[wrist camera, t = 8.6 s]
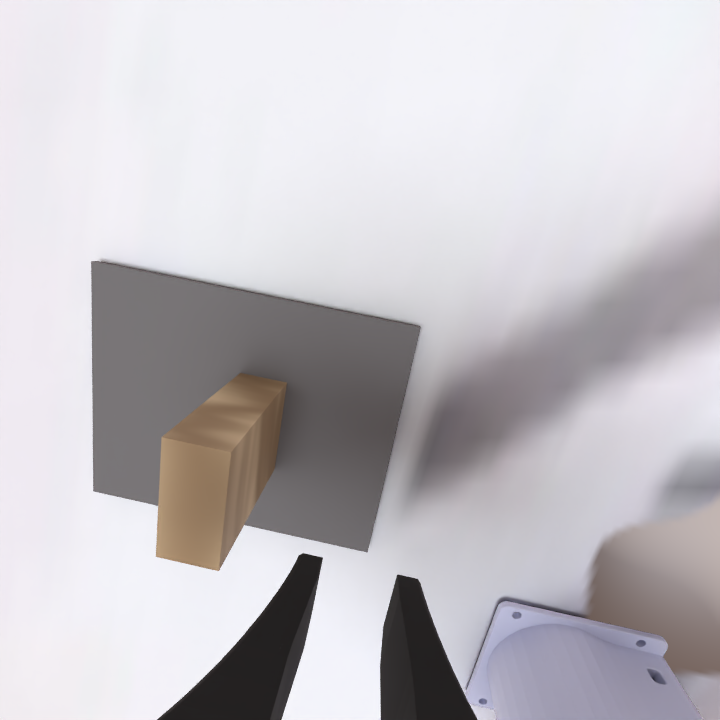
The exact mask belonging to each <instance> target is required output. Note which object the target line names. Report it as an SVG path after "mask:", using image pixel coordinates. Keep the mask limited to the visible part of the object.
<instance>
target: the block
mask: <svg viewBox="0 0 720 720" xmlns="http://www.w3.org/2000/svg"><path fill="white" fill-rule="evenodd" d="M286 386H287V383H286V382H282V381H277V380H272V379H267V378H263V377H258V376H253V375H248V374H244V373H240V374H238V375H237V376H236V377H235V378H233V379H232V380H231V381H230V382H229V383H227V384H226V385H225V386H224V387H222V388H221V389H220V390H219V391H217V392H216V393H215V394H214V395H213V396H211V397H210V398H209V399H208V400H206V401H205V402H204V403H203V404H202V405H200V406H199V407H198V408H197V409H195V410H194V411H193V412H192V413H191V414H189V415H188V416H187V417H186V418H184V419H183V420H182V421H181V422H179V423H178V424H177V425H176V426H175V427H173V428H172V429H171V430H170V431H168V432H167V433H166V434H165V435H164V436H162V439H161V460H160V481H159V503H158V524H157V545H156V557H160V558H164V559H168V560H173V561H177V562H181V563H186V564H190V565H195V566H199V567H203V568H208V569H212V570H217V571H219V570H220V568H221V566H222V564H223V562H224V560H225V559H226V557H227V555H228V553H229V551H230V550H231V548H232V546H233V544H234V542H235V540H236V539H237V537H238V535H239V533H240V531H241V529H242V528H243V526H244V524H245V522H246V520H247V519H248V517H249V515H250V513H251V511H252V509H253V508H254V506H255V504H256V502H257V500H258V498H259V497H260V495H261V493H262V491H263V489H264V488H265V486H266V484H267V482H268V480H269V478H270V477H271V475H272V473H273V471H274V469H275V463H276V456H277V449H278V442H279V435H280V428H281V421H282V414H283V407H284V400H285V393H286Z"/></svg>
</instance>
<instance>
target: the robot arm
mask: <svg viewBox="0 0 720 720" xmlns="http://www.w3.org/2000/svg"><path fill="white" fill-rule="evenodd" d="M322 559H323V558H322V557H317V556H313V555H308V554H304V553H303V554H301V555H299V556H298V558H297V561H296V563H295V565H294V566H293V568H292V570H291V572H290V573H289V575H288V577H287V578H286V580H285V581H284V583H283V584H282V586H281V587H280V589H279V590H278V592H277V593H276V594H275V596H274V597H273V598H272V600H271V601H270V603H269V604H268V605H267V607H266V608H265V609H264V611H263V612H262V613H261V615H260V616H259V617H258V618H257V619H256V621H255V622H254V623H253V624H252V626H251V627H250V628H249V629H248V630H247V632H246V633H245V634H244V635H243V636H242V638H241V639H240V640H239V641H238V642H237V643H236V644H235V646H234V647H233V648H232V649H231V650H230V651H229V652H228V653H227V654H226V655H225V656H224V658H223V659H222V660H221V661H220V662H219V663H218V664H217V665H216V666H215V667H214V668H213V669H212V670H211V671H210V672H209V673H208V674H207V675H206V676H205V677H204V678H203V679H202V680H201V681H200V682H199V683H198V684H197V685H196V686H195V687H194V688H192V689H191V690H190V691H189V692H188V693H187V694H186V695H185V696H184V697H183V698H182V699H181V700H179V701H178V702H177V703H176V704H175V705H174V706H173V707H171V708H170V709H169V710H168V711H167V712H166V713H164V714H163V715H162V716H161V717H160V718H158V719H157V720H281V719H282V716H283V713H284V710H285V706H286V703H287V700H288V697H289V694H290V691H291V687H292V684H293V681H294V678H295V675H296V672H297V668H298V665H299V662H300V659H301V656H302V653H303V649H304V645H305V641H306V637H307V632H308V628H309V623H310V619H311V614H312V610H313V605H314V600H315V595H316V590H317V585H318V580H319V575H320V569H321V564H322ZM514 612H517V613H514ZM667 648H668V644H667V642H666V641H665V639H664V638H663V637H662V636H660V635H656V634H652V633H647V632H642V631H638V630H634V629H629V628H625V627H620V626H616V625H611V624H607V623H603V622H598V621H594V620H589V619H585V618H580V617H576V616H571V615H567V614H563V613H558V612H554V611H549V610H545V609H540V608H536V607H531V606H527V605H522V604H518V603H514V602H509V601H504V602H501V603H500V604H499V605H498V607H497V610H496V612H495V615H494V618H493V620H492V623H491V626H490V628H489V631H488V634H487V636H486V639H485V642H484V645H483V647H482V650H481V653H480V655H479V658H478V661H477V663H476V666H475V669H474V672H473V674H472V677H471V680H470V682H469V685H468V688H467V690H466V696H465V694H464V692H463V690H462V688H461V686H460V684H459V682H458V680H457V678H456V675H455V673H454V671H453V669H452V667H451V664H450V662H449V660H448V658H447V655H446V653H445V650H444V648H443V646H442V643H441V641H440V638H439V636H438V633H437V631H436V628H435V626H434V623H433V620H432V617H431V615H430V612H429V609H428V606H427V603H426V600H425V597H424V594H423V591H422V587H421V584H420V582H419V580H418V579H415V578H411V577H406V576H402V575H397V578H396V581H395V585H394V589H393V593H392V596H391V600H390V604H389V608H388V611H387V615H386V619H385V622H384V626H383V638H382V650H381V663H380V687H381V720H477V718H476V716H475V714H474V712H473V710H472V708H471V706H470V704H473V705H477V706H481V707H485V708H489V709H494V711H495V715H496V720H703V718H702V717H701V715H700V714H699V712H698V711H697V709H696V707H695V706H694V704H693V703H692V701H691V700H690V698H689V697H688V695H687V693H686V692H685V690H684V689H683V687H682V686H681V684H680V683H679V681H678V679H677V678H676V676H675V675H674V673H673V672H672V670H671V669H670V667H669V665H668V664H667V662H666V661H665V659H664V658H663V656H664V654H665V652H666V650H667ZM469 703H470V704H469Z"/></svg>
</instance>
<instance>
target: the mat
mask: <svg viewBox="0 0 720 720" xmlns="http://www.w3.org/2000/svg"><path fill="white" fill-rule="evenodd" d="M91 274H92V385H93V491H95V492H99V493H104V494H108V495H113V496H117V497H122V498H126V499H131V500H135V501H140V502H144V503H149V504H153V505H158V503H159V481H160V460H161V439H162V436H164V435H165V434H166V433H167V432H168V431H170V430H171V429H172V428H173V427H175V426H176V425H177V424H178V423H179V422H181V421H182V420H183V419H184V418H186V417H187V416H188V415H189V414H191V413H192V412H193V411H194V410H195V409H197V408H198V407H199V406H200V405H202V404H203V403H204V402H205V401H206V400H208V399H209V398H210V397H211V396H213V395H214V394H215V393H216V392H217V391H219V390H220V389H221V388H222V387H224V386H225V385H226V384H227V383H229V382H230V381H231V380H232V379H233V378H235V377H236V376H237V375H238V374H240V373H244V374H248V375H253V376H258V377H263V378H267V379H272V380H277V381H282V382H286V383H287V386H286V393H285V400H284V407H283V414H282V421H281V428H280V435H279V442H278V449H277V456H276V463H275V469H274V471H273V473H272V475H271V477H270V478H269V480H268V482H267V484H266V486H265V488H264V489H263V491H262V493H261V495H260V497H259V498H258V500H257V502H256V504H255V506H254V508H253V509H252V511H251V513H250V515H249V517H248V519H247V520H246V522H245V524H244V525H247V526H252V527H256V528H261V529H265V530H270V531H274V532H279V533H283V534H288V535H292V536H297V537H301V538H306V539H310V540H314V541H319V542H323V543H328V544H332V545H337V546H341V547H346V548H350V549H355V550H359V551H364V552H368V548H369V544H370V539H371V535H372V531H373V527H374V523H375V518H376V514H377V510H378V506H379V501H380V497H381V493H382V489H383V484H384V480H385V476H386V472H387V467H388V463H389V459H390V455H391V451H392V446H393V442H394V438H395V434H396V429H397V425H398V421H399V417H400V412H401V408H402V404H403V400H404V396H405V391H406V387H407V383H408V379H409V374H410V370H411V366H412V362H413V357H414V353H415V349H416V345H417V341H418V336H419V332H420V326H415V325H410V324H405V323H400V322H395V321H390V320H385V319H380V318H376V317H371V316H366V315H361V314H356V313H351V312H346V311H341V310H336V309H331V308H326V307H321V306H316V305H311V304H306V303H301V302H297V301H292V300H287V299H282V298H277V297H272V296H267V295H262V294H257V293H252V292H247V291H242V290H237V289H232V288H227V287H222V286H218V285H213V284H208V283H203V282H198V281H193V280H188V279H183V278H178V277H173V276H168V275H163V274H158V273H153V272H148V271H143V270H139V269H134V268H129V267H124V266H119V265H114V264H109V263H104V262H99V261H91Z"/></svg>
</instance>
